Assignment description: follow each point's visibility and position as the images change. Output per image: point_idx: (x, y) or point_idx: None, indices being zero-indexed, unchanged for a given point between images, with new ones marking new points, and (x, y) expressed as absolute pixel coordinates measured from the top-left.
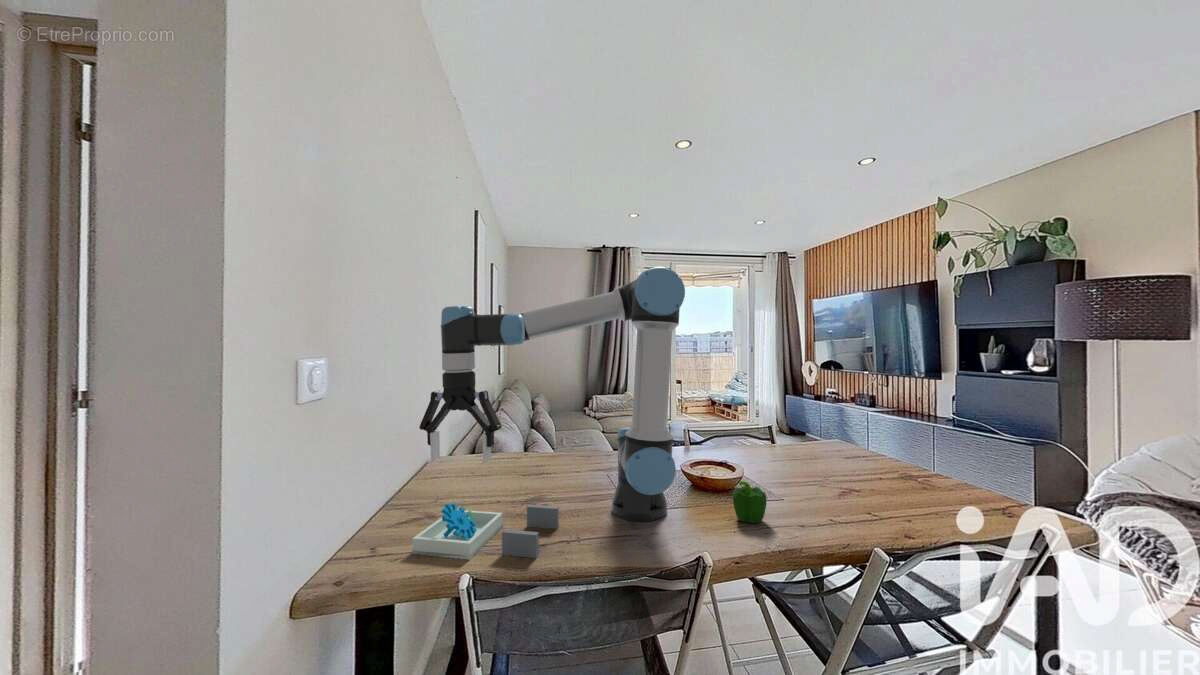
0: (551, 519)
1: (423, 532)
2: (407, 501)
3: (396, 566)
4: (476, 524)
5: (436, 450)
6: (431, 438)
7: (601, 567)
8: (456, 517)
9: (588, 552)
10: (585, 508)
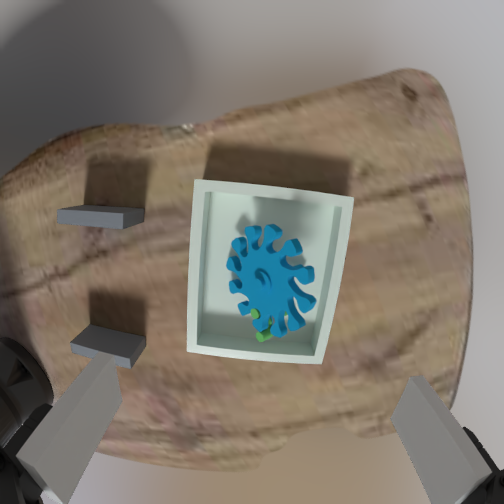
0: (90, 334)
1: (342, 231)
2: None
3: (348, 144)
4: (251, 332)
5: (416, 425)
6: (471, 451)
7: (9, 193)
8: (272, 278)
9: (26, 236)
10: None
